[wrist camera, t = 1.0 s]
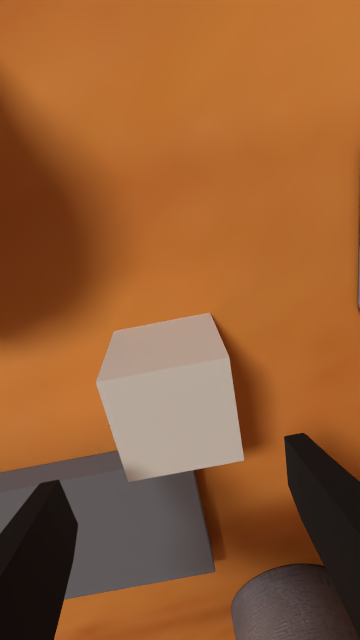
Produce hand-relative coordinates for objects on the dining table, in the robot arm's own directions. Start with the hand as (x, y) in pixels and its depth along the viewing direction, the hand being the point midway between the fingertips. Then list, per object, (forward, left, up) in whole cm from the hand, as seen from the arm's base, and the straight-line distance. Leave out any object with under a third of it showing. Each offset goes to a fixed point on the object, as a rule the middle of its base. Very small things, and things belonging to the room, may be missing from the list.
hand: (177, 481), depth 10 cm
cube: (0, 0, -8) cm, 8 cm away
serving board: (+7, +10, -8) cm, 14 cm away
